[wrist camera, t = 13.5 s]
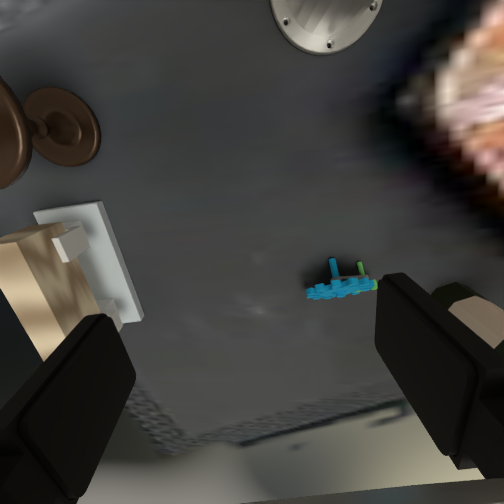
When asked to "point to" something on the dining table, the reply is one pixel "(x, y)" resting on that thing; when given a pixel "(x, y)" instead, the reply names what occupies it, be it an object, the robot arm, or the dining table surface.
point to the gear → (342, 284)
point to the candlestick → (44, 130)
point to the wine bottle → (474, 313)
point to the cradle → (96, 258)
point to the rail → (43, 285)
